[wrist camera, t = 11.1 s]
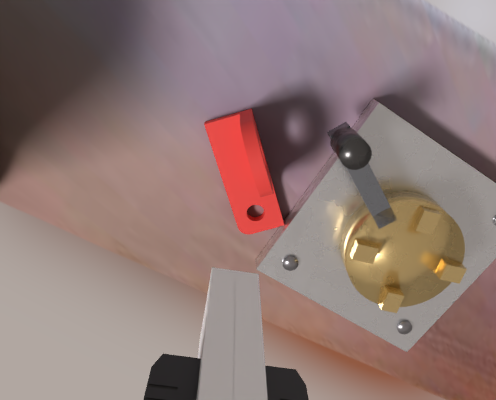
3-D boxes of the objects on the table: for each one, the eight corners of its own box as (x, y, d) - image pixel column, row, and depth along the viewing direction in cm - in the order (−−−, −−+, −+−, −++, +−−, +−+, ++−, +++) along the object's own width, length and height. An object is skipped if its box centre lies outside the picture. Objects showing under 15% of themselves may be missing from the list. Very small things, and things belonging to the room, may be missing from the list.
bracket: (205, 121, 44) (198, 144, 36) (251, 108, 43) (253, 128, 36) (240, 231, 48) (241, 271, 41) (283, 220, 48) (291, 258, 40)
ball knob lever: (467, 259, 47) (503, 299, 40) (368, 306, 49) (388, 351, 42) (388, 89, 40) (417, 104, 34) (277, 151, 42) (284, 176, 36)
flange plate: (255, 259, 49) (256, 270, 47) (373, 98, 43) (380, 103, 41) (401, 340, 54) (407, 353, 51) (527, 204, 47) (540, 213, 45)
